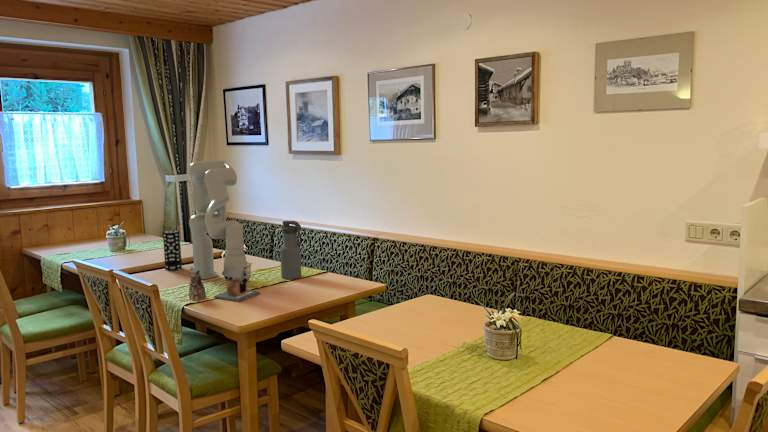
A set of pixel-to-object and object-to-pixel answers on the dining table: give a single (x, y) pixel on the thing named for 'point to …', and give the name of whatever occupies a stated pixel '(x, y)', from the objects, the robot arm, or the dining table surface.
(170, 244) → the white-spotted black cylinder
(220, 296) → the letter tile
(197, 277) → the figurine
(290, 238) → the water bottle
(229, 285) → the block
